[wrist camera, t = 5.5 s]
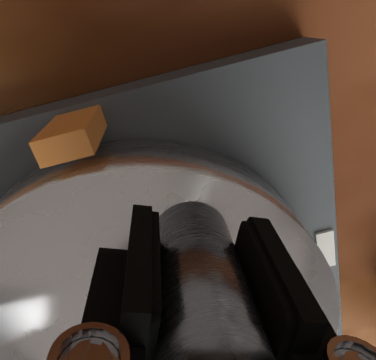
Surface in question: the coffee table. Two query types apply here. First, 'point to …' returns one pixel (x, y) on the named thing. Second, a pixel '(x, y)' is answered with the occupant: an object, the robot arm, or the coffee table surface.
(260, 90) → the gray plinth
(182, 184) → the silver disc
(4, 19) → the coffee table surface
